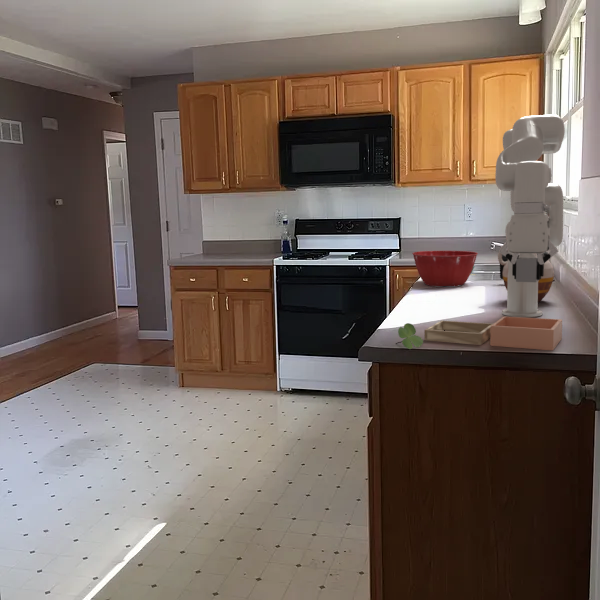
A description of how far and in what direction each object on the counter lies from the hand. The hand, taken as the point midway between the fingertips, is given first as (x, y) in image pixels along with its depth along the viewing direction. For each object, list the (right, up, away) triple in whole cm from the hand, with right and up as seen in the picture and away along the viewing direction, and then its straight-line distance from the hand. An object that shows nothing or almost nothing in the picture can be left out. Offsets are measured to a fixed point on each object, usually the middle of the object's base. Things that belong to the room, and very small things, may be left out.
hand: (527, 278), depth 173 cm
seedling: (-34, -18, +5) cm, 39 cm away
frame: (-15, -16, +11) cm, 25 cm away
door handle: (+37, 0, +112) cm, 118 cm away
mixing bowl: (+4, 0, +119) cm, 119 cm away
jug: (+23, -7, +68) cm, 72 cm away
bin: (+1, -17, +2) cm, 17 cm away
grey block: (0, -1, 0) cm, 1 cm away
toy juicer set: (+21, +7, +165) cm, 167 cm away
